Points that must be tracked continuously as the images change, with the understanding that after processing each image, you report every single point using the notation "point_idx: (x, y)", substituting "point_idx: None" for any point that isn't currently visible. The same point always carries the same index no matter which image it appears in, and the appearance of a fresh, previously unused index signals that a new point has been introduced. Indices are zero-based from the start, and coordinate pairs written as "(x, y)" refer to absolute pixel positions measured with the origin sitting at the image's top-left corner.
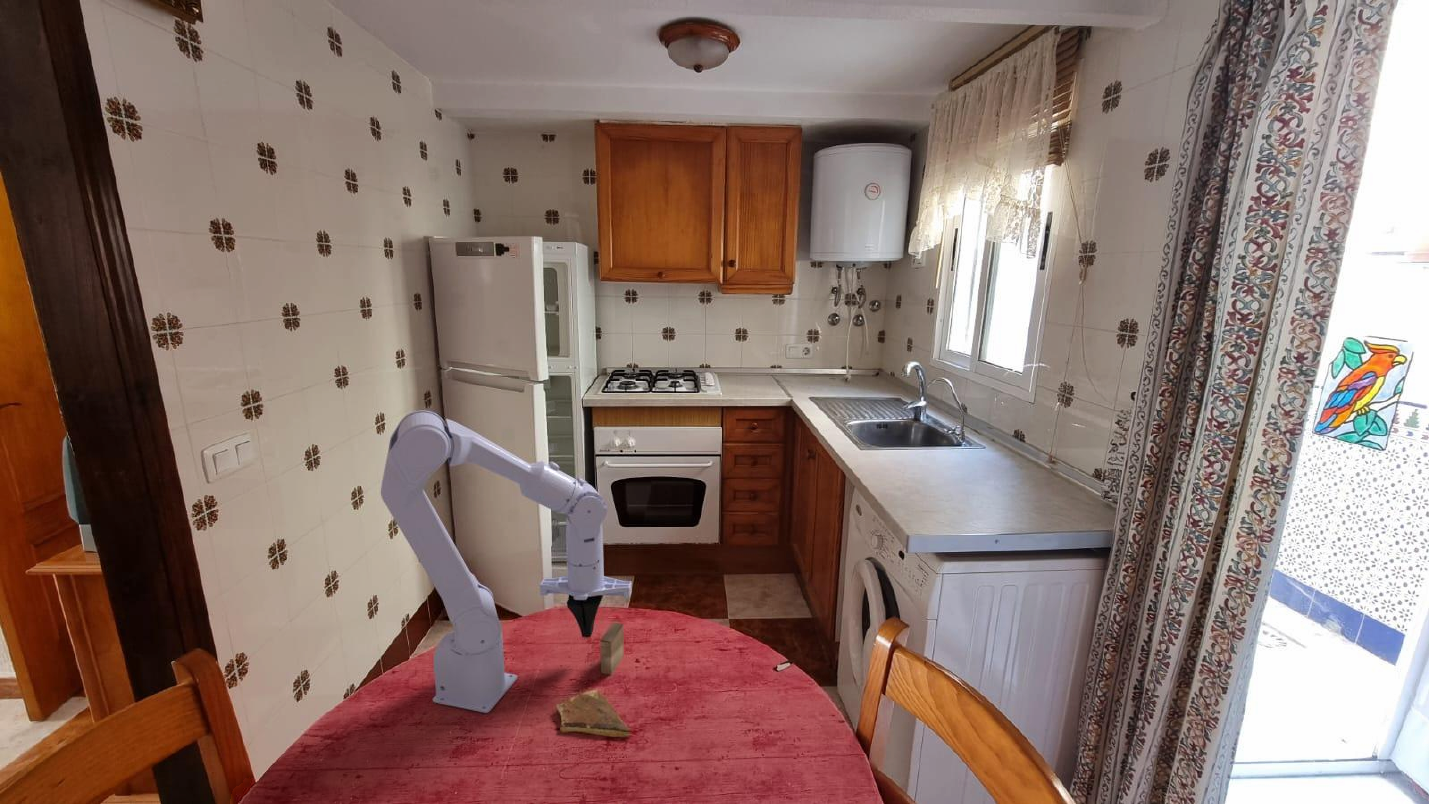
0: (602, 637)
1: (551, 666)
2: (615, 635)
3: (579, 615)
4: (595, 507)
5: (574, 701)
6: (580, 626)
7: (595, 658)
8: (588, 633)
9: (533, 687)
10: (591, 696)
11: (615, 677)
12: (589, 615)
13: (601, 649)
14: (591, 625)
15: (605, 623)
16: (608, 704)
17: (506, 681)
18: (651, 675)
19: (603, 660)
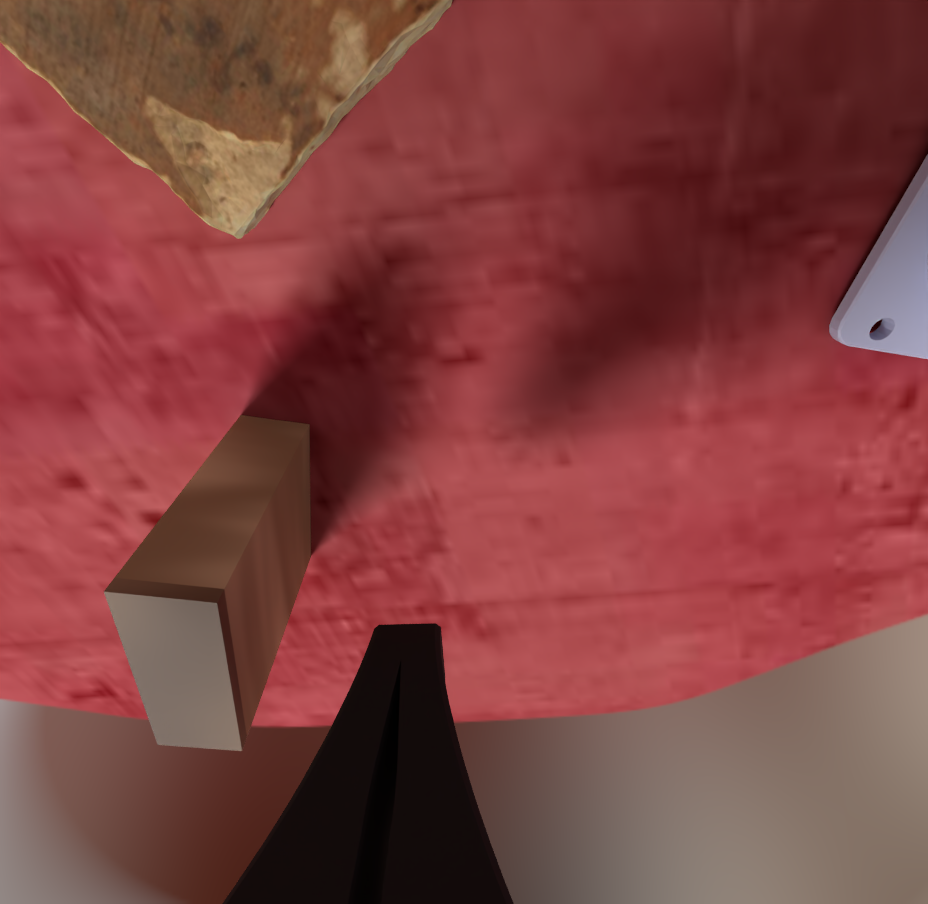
0: (219, 627)
1: (618, 448)
2: (129, 653)
3: (425, 884)
4: None
5: (316, 16)
6: (435, 720)
7: (390, 520)
8: (376, 655)
9: (705, 259)
10: (205, 119)
11: (206, 395)
12: (291, 894)
13: (247, 533)
14: (326, 737)
15: None
16: (12, 31)
17: (918, 272)
18: (7, 428)
19: (263, 473)
